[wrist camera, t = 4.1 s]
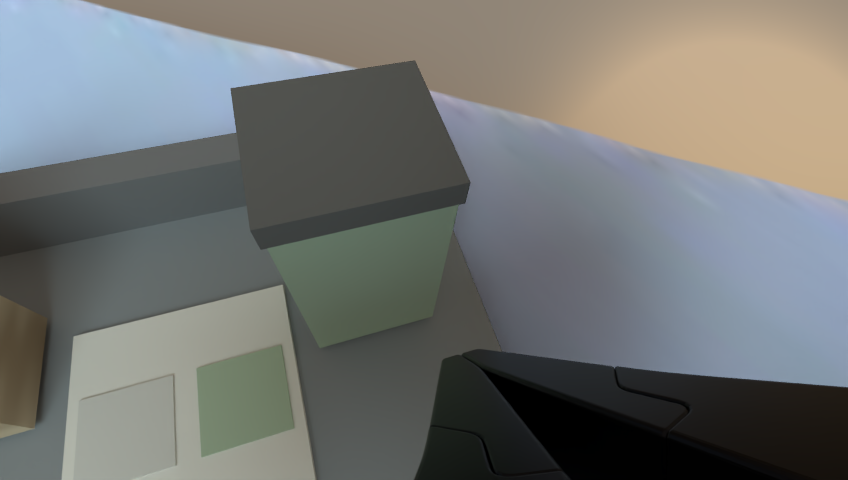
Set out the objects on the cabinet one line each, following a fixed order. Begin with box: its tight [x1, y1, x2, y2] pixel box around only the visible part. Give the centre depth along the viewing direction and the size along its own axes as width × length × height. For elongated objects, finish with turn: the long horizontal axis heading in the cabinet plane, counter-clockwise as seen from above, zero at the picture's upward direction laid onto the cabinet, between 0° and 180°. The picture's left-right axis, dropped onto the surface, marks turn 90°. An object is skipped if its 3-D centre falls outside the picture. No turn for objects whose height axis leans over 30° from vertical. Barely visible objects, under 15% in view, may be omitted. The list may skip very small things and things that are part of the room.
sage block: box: [231, 61, 470, 348], centre depth 14 cm, size 4×5×9 cm
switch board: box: [0, 133, 502, 480], centre depth 15 cm, size 15×23×4 cm, turn 108°
